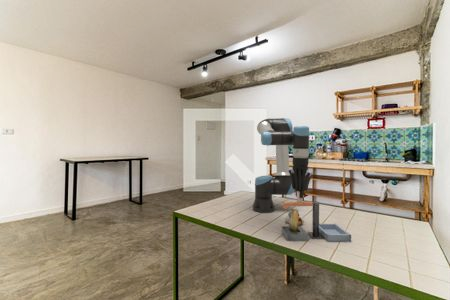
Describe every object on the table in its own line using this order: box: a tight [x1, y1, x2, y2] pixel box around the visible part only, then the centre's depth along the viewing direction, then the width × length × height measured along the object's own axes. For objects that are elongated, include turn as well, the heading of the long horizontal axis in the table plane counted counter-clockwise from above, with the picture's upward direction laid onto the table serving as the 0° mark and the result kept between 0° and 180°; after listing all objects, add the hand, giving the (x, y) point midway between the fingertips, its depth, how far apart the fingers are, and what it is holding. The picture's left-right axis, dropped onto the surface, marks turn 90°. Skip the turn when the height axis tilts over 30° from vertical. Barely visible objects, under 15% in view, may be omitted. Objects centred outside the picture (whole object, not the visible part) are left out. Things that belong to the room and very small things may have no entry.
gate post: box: [306, 205, 325, 240], centre depth 105 cm, size 6×6×16 cm
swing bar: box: [282, 201, 320, 210], centre depth 105 cm, size 3×18×3 cm, turn 92°
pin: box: [290, 208, 299, 232], centre depth 105 cm, size 4×4×13 cm
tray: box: [319, 223, 352, 243], centre depth 106 cm, size 14×11×3 cm
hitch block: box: [281, 225, 309, 242], centre depth 106 cm, size 10×10×3 cm
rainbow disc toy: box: [284, 211, 305, 226], centre depth 122 cm, size 8×10×7 cm
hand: (299, 203), depth 107 cm, fingers closed
